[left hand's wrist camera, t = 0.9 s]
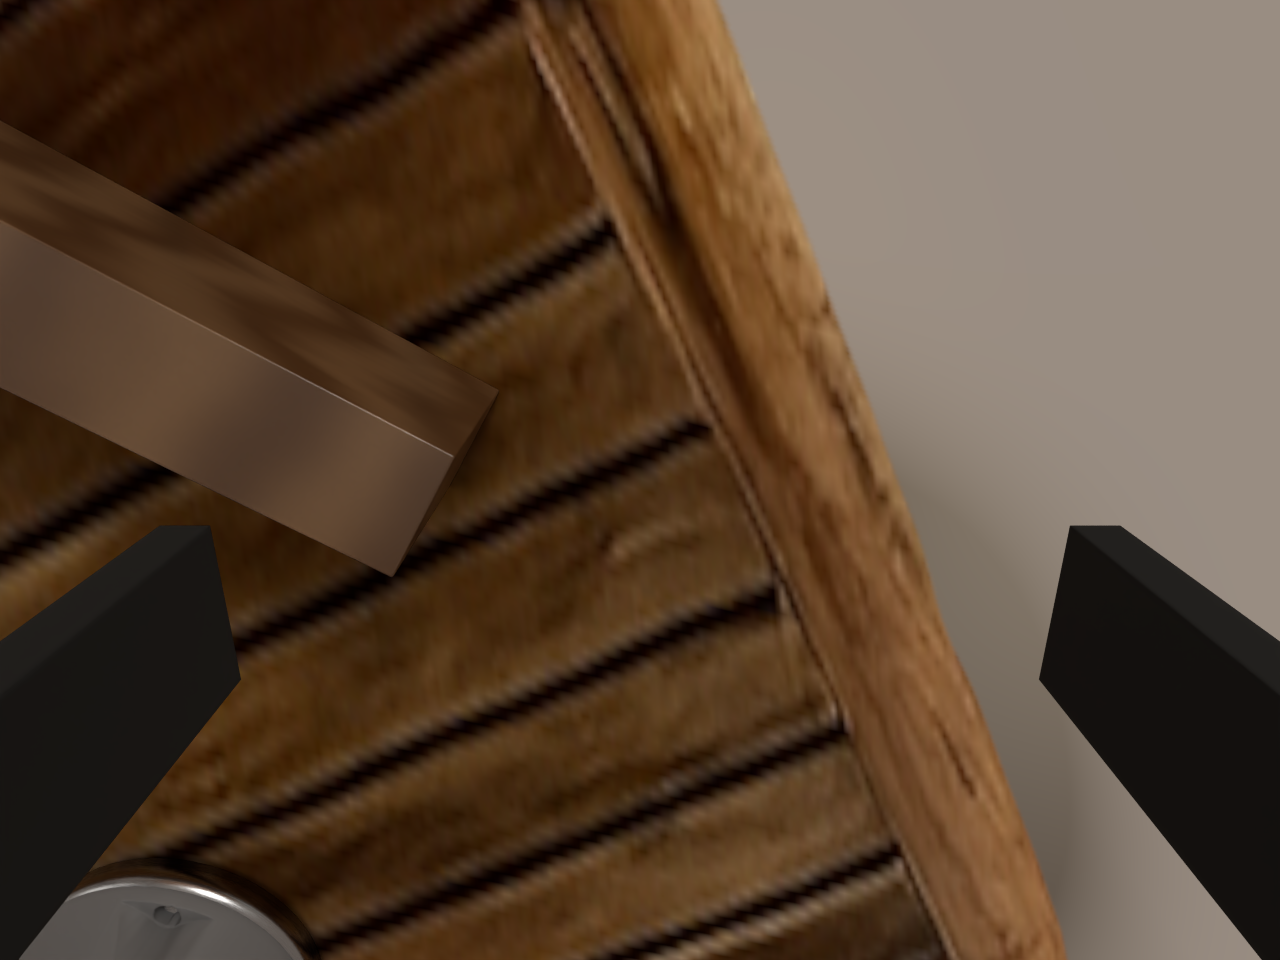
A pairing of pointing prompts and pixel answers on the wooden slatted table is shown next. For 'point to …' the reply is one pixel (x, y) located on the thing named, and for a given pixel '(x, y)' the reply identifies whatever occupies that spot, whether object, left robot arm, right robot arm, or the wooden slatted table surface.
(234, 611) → the wooden slatted table surface
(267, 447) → the beam
